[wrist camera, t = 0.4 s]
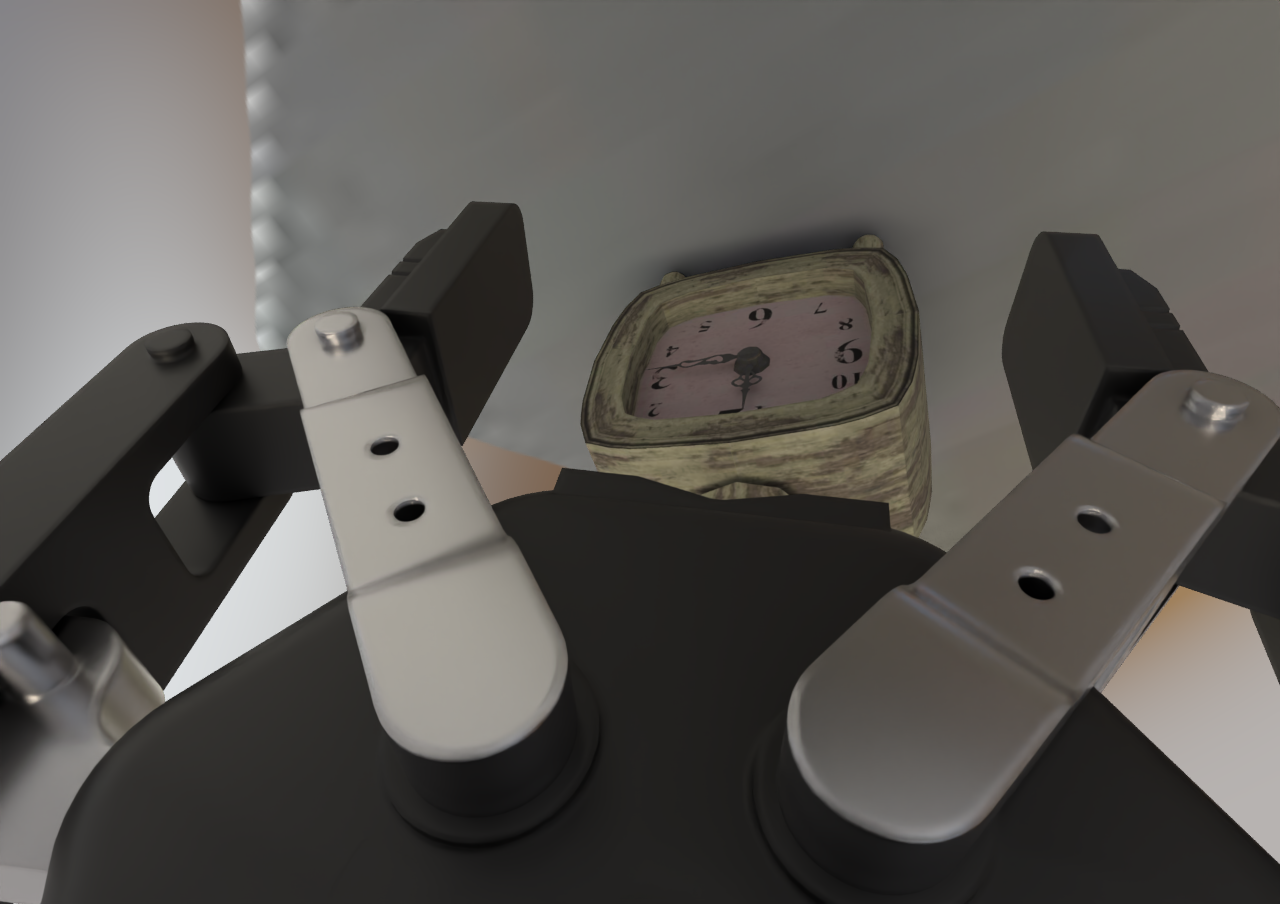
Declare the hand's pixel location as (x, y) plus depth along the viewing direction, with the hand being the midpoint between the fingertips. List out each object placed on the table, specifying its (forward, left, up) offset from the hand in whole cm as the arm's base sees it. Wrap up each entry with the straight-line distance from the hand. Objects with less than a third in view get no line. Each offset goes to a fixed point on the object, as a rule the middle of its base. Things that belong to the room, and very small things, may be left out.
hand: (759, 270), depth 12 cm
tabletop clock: (+17, 0, -29) cm, 33 cm away
